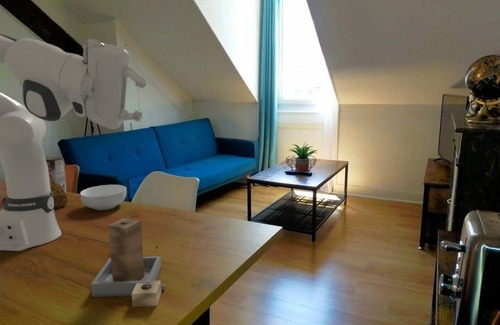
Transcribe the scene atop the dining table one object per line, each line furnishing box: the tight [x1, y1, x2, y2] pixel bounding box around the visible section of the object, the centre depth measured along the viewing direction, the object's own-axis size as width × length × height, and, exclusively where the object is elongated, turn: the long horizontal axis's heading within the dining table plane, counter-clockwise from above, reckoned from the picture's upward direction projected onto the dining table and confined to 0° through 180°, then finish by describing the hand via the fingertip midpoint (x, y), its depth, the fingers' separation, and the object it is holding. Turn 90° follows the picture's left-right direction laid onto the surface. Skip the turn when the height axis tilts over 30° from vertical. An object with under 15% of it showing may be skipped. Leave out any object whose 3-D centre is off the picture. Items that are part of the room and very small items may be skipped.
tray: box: [90, 255, 162, 298], centre depth 83 cm, size 13×13×3 cm
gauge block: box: [131, 279, 166, 308], centre depth 77 cm, size 6×7×3 cm
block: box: [107, 217, 144, 282], centre depth 82 cm, size 5×5×14 cm
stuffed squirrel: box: [49, 174, 69, 209], centre depth 139 cm, size 10×14×13 cm
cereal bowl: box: [79, 184, 127, 211], centre depth 138 cm, size 17×17×7 cm
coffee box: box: [45, 156, 67, 193], centre depth 157 cm, size 9×6×16 cm
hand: (143, 101), depth 79 cm, fingers open, 8 cm apart
